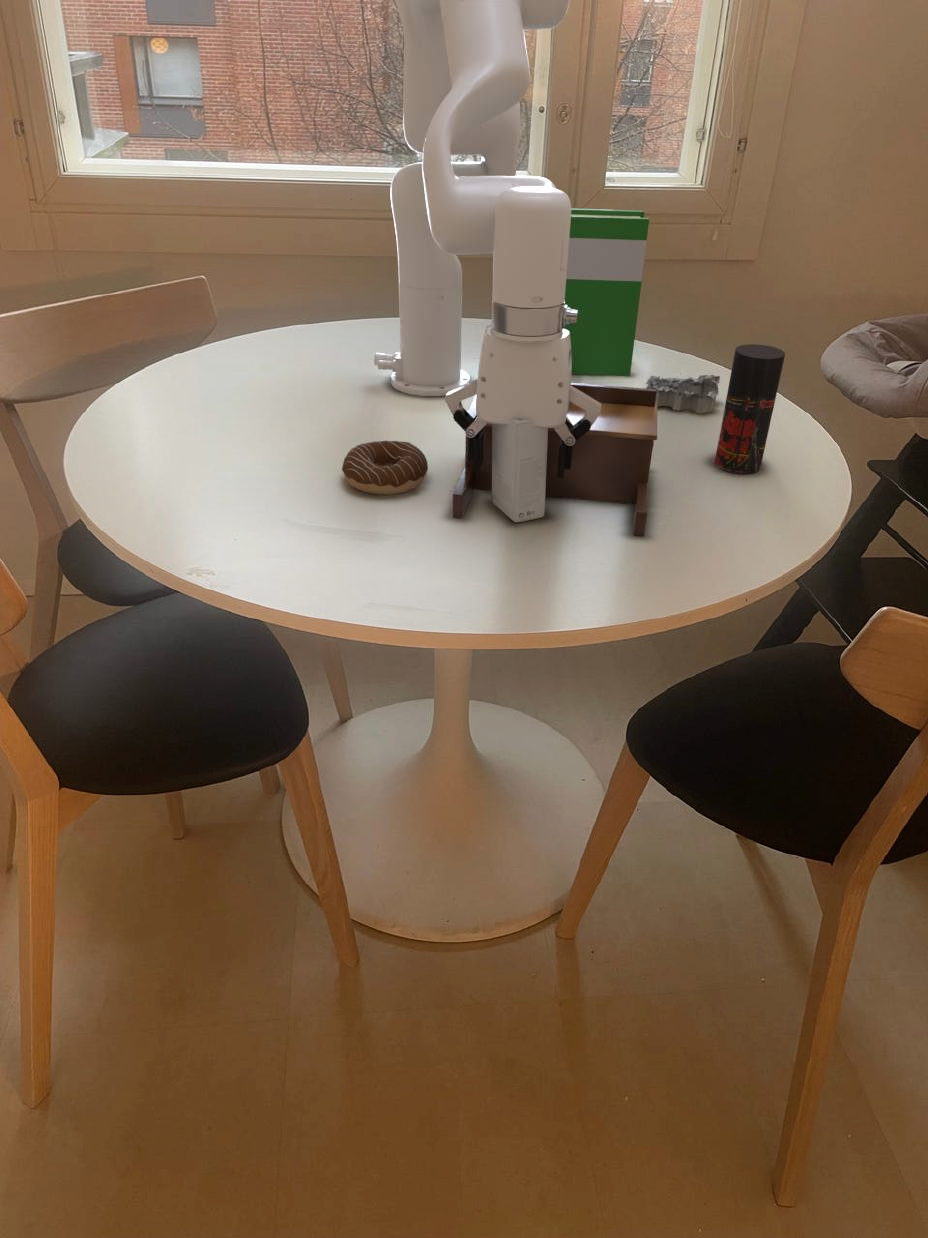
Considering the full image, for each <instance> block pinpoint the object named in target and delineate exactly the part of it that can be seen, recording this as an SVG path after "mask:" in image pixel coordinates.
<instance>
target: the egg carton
mask: <svg viewBox="0 0 928 1238" xmlns="http://www.w3.org/2000/svg"><path fill="white" fill-rule="evenodd" d="M720 378H721V377H720V375H714V374H710V375H709V374H703V375H699V376H698V377H697V378H694V377H692V376H691V377H690V376H689V377H688V378H679V377H667V378H666V377H663V378H662V377H661V378H660V376H656V375H651V376H650V377H649V378H648V379H647V381H646V382H645V384H646V385H647V386H646V388H647V389H657V395H656V402H655V404H656V405H657V408H658V407H663V406H665V407H670V408H672V410H674V411H681V410H692V411H694V412H695V413H696V414H699V415H700V414H701V415H702V414H704V413H711V412H712V411H713V409H714V405H715V404H716V400H717V396H718V395H719V384H720V382H721V381H720V380H721V379H720Z"/></svg>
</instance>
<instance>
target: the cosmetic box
mask: <svg viewBox="0 0 928 1238" xmlns="http://www.w3.org/2000/svg"><path fill="white" fill-rule="evenodd" d="M547 444H548V428H540V427H537V426H534V422H533V421H532V420H522V419H511V420H510V421H509V424H508V425H501V424H492V491H491V503H492V504H493V505H494V506H496V507H497V508H498V510H500V511H501V512H502V513H504V514H505V516H507V517H508V519H510V520H512V521H513V522H514V523H520V522H521V523H522V522H526V521H531V520H538V519H540V518H541V519H542V518H544V517H545V513H546V496H545V490H546V467H547Z"/></svg>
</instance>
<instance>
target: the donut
mask: <svg viewBox="0 0 928 1238" xmlns="http://www.w3.org/2000/svg"><path fill="white" fill-rule="evenodd" d="M341 471H342V472H343V475H344V478H345V480H346V481H347V482H348V483H349V484H350V485H351V486H352V487H353V488H355V489H357V490H359V491H361V492H364V493H368V494H372V495H373V494H374V495H396V494H401V493H406V492H408V491H410V490H412V489H414V488H416V487H418V486H419V485H420V484H421V483H422V482H423V481H424V480H425V478H426V476H427V473H428V471H429V464H428V460H427V457H426V456H425V454H424V452H423V451H422V450H421V448H419V447H417V446H416V445H415V444H412V443H411V442H408V441H401V440H380V441H378V440H377V441H371V442H369V441H368V442H365V443H363V442H362V443H360V444H357V445H356V446H354V447H352V448H351V449H350V450H349V451H348V452H347V454H346V456H345V457H344V459H343V462H342V468H341Z"/></svg>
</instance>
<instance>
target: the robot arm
mask: <svg viewBox="0 0 928 1238" xmlns="http://www.w3.org/2000/svg"><path fill="white" fill-rule="evenodd" d="M570 2H571V0H395V3H396V7H397V10H398V14H399V17H400V21H401V26H402V32H403V78H402V79H403V80H402V81H403V82H402V127H403V135H404V139H405V142H406V144H407V146H408V148H409V149H411V150H412V151H414V152H415V153H418V154H421V155H422V160H421V161H422V162H414V163H411V164H407V165H405V166H402V167H401V168H400V169H398V170H397V172H395V174H394V175H393V177H392V180H391V183H390V204H391V210H392V217H393V223H394V229H395V236H396V247H397V267H398V268H397V269H398V270H397V271H398V308H399V309H398V310H399V311H398V313H399V314H398V316H399V317H398V319H399V352H395V353H394V354H387V353H380V352H375V353H374V356H373V362H374V366H377V369H378V370H383V371H384V370H385V371H387V370H391V371H392V374H391V376H390V384H391V386H392V387H393V388H394V390H397V391H399V392H401V393H404V394H408V395H413V396H418V397H419V396H420V397H444V401H445V403H446V405H447V407H448V410H449V412H450V413H451V415H452V418H453V420H454V422H455V423H456V424H457V425H458V426H459V427H460V428H461V429H462V430H463V431H464V433H465V437H466V436H467V437H469V442H468V461H473V471H477V472H478V470H480V468H481V465H482V463H483V448H484V432H483V431H482V428H483V427H484V426H485V425H486V424H487V423H491V424H501V425H508V424H509V421H510V420H511V419H522V420H532V421H533V422H534V426H537V427H540V428H554V429H555V431H556V432H557V433H558V435H559V436H560V437H561V441H560V446H559V457H558V470H557V477H559V479H563V477H564V472H565V469H571V463H572V451H573V445H574V443H575V442H576V441H577V440H578V439H579V438H581V437H582V436H583V435H584V434H586V433H587V432H588V431H589V430H590V428H591V426H592V425H593V424H594V422H595V421H596V419H597V418H598V416H599V415H600V413H601V411H602V404H601V403H599V402H598V401H596V400H594V399H593V398H591V397H590V396H588V395H586V394H585V393H583V392H581V391H580V390H578V389H576V388H575V387H573V386H571V383H572V374H571V371H572V353H571V340H570V333H569V331H568V330H566V329H563V326H565V325H566V324H570V323H577V316H578V310H572V309H571V308H567V305H565V287H566V274H567V261H568V248H569V235H570V222H571V209H572V202H571V199H570V197H569V195H568V194H567V193H566V192H564V191H563V190H561V189H558V188H557V187H556V186H555V184H554V183H553V182H552V181H551V180H550V179H548V178H546V177H543V176H537V175H517V166H518V158H519V157H518V156H519V147H520V139H521V138H520V137H521V124H522V123H521V122H522V116H521V115H522V113H521V112H522V111H521V102H520V101H521V100H522V99H523V98H524V97H525V95H526V94H527V92H528V90H529V87H530V84H531V69H530V62H529V58H528V56H529V55H528V50H527V44H526V37H525V31H524V30H542V31H543V30H544V31H546V30H553V29H555V28H557V27H559V26H560V25H561V24H562V22H563V21H564V19H565V17H566V15H567V13H568V10H569V8H570ZM452 156H480V157H481V160H480V161H452ZM488 254H489V255H490V254H491V255H493V259H492V260H493V261H492V296H491V322H490V324H489V325H487V326H486V327H485V329H484V332H483V339H482V343H481V350H480V355H479V362H478V370H477V371H478V372H477V379H475V380H473V381H471V376H470V374H469V373H468V372H467V371H465V370H464V369H461V368H462V366H461V365H462V323H463V321H462V320H463V319H462V318H463V315H462V313H463V269H462V263H461V261H460V260H459V257H458V256H457V255H460V256H461V255H462V256H463V255H464V256H465V255H466V256H468V255H470V256H471V255H488ZM475 395H476V414H477V415H476V416H475V417H474V418H473V417H472V416H471V415H470V414H469V413H468V412H467V411H468V410H467V409H465V408H464V406H463V404H462V402H463V401H465V400H466V399H469V398H471V397H475ZM570 402H572V403H573V404H575V405H577V406H578V407H580V408H582V409H583V410H585V411H586V413H585V415H584V417H583V418H582V419H581V420H579V421H578V422H577V423H576V424H574V425H573V424H572V423H571V422H570V420H569V419H568V418H567V413H568V411H569V407H570Z"/></svg>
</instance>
